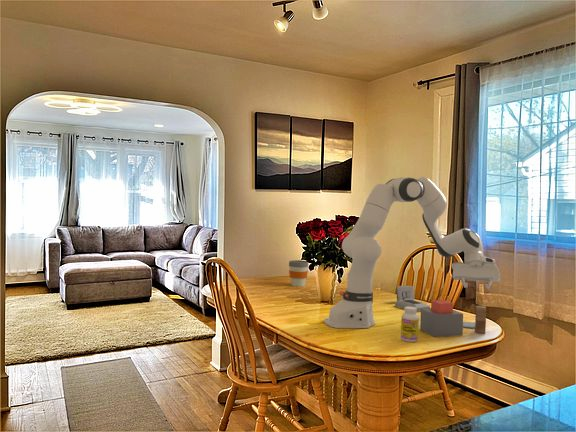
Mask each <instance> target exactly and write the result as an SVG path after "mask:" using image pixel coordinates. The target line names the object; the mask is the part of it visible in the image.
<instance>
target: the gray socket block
mask: <svg viewBox="0 0 576 432" xmlns="http://www.w3.org/2000/svg"><path fill="white" fill-rule="evenodd" d="M463 322H464V313H462V312H460V311H457V310H455V309H453V313H441V314H439V313H437V312H434V311H432V310H431V307H430V308H429V309H421V312H420V317H419V324H420V325H419V326H420V327H419V330H420V331H422V332H423V333H426V334H427V335H430V336H432V337H434V338H443V337H444V338H445V337H458V336H459V337H460V336H464V335H463V331H464V328H463Z"/></svg>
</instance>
